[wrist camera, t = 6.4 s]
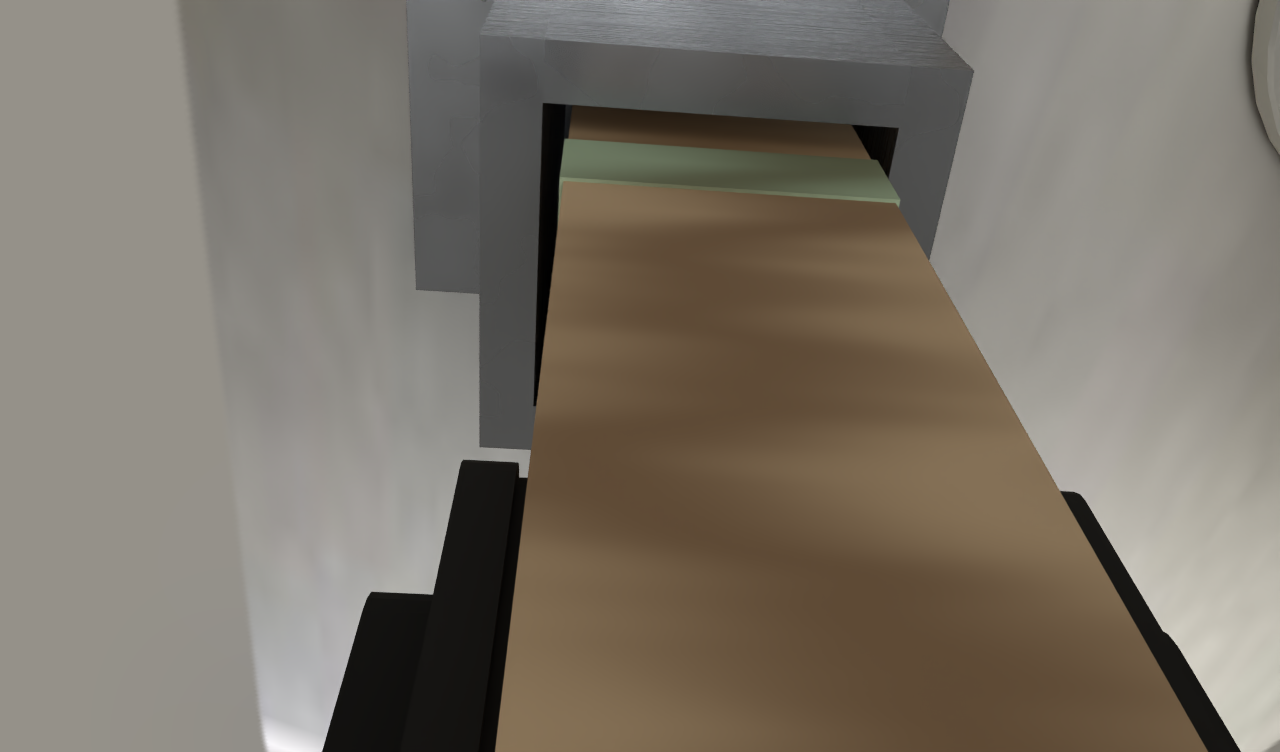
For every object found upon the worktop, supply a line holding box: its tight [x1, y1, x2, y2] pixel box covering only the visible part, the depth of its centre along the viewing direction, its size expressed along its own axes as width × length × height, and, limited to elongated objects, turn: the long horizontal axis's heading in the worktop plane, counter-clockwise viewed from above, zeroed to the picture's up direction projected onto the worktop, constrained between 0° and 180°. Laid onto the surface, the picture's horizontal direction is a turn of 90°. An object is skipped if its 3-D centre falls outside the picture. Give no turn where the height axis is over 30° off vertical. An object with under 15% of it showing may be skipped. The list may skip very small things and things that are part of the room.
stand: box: [406, 0, 974, 450], centre depth 23 cm, size 13×13×13 cm
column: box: [495, 105, 1208, 752], centre depth 14 cm, size 4×4×18 cm
